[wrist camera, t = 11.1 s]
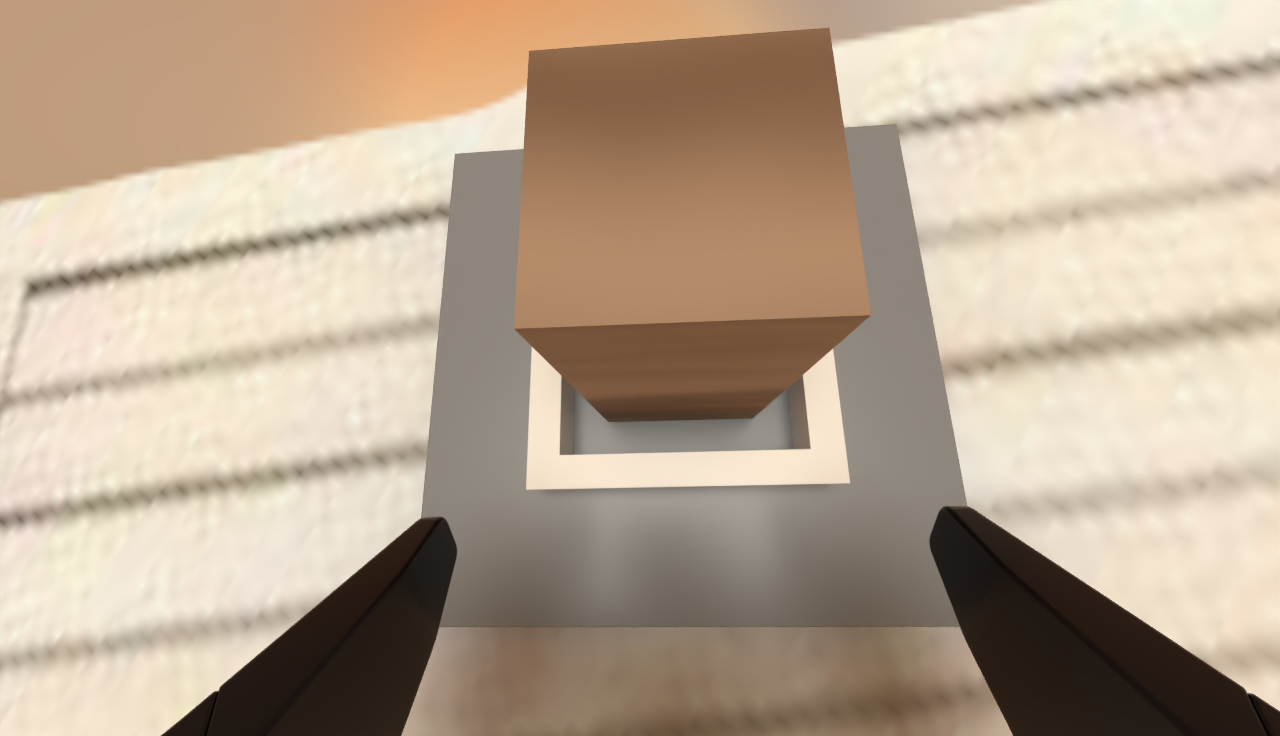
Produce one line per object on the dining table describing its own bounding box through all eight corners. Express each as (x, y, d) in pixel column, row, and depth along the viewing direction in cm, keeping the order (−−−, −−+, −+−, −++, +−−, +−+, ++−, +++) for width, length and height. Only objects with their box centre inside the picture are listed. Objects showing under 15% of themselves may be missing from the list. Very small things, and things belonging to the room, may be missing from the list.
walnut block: (752, 418, 16) (870, 315, 6) (608, 422, 16) (513, 329, 7) (742, 284, 17) (828, 27, 8) (608, 290, 18) (529, 50, 8)
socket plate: (965, 615, 15) (1039, 648, 12) (429, 616, 16) (372, 647, 13) (883, 145, 20) (922, 81, 17) (467, 172, 21) (431, 117, 18)
